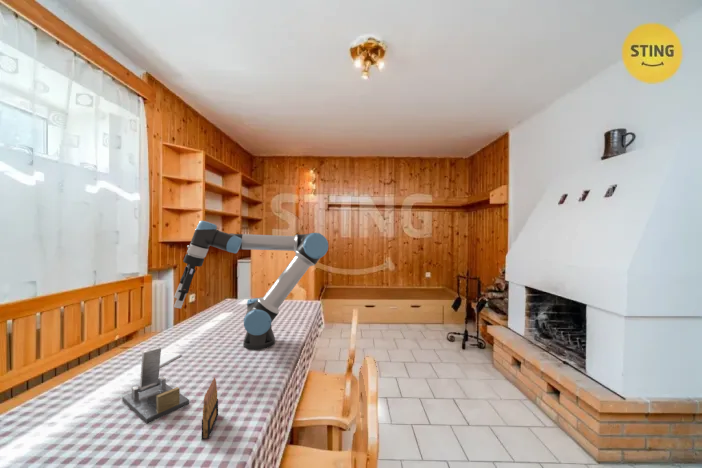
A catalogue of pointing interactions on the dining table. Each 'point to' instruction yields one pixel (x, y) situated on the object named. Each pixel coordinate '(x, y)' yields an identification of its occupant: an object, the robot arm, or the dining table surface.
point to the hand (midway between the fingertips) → (177, 302)
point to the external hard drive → (168, 358)
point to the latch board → (147, 408)
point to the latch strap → (150, 369)
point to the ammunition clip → (210, 410)
